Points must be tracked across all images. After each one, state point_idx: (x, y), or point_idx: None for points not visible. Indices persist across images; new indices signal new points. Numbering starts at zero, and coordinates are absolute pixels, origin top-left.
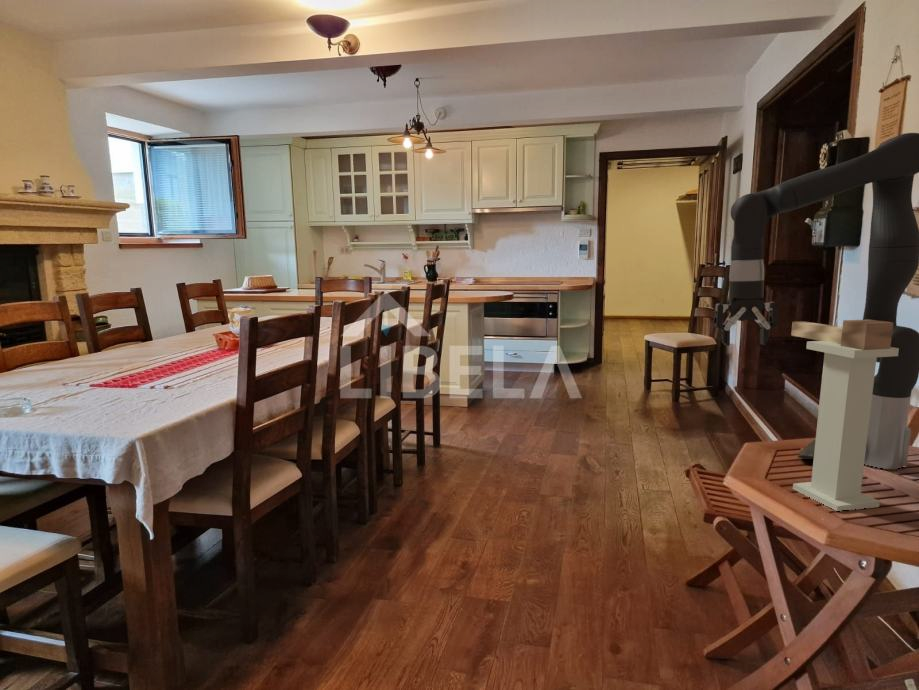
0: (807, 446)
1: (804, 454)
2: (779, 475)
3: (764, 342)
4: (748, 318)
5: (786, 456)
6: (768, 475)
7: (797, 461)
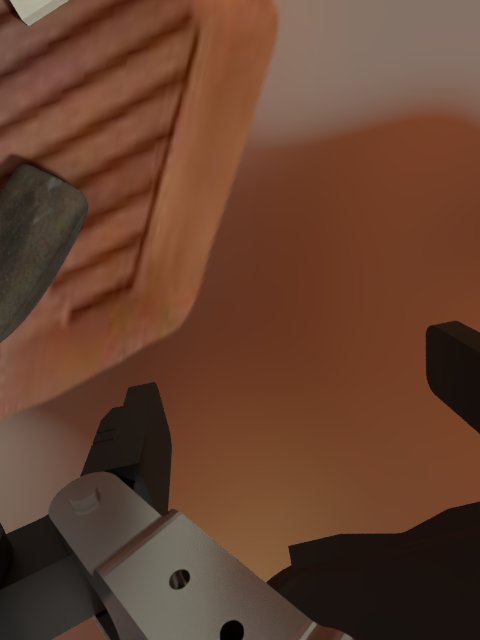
0: (52, 242)
1: (69, 191)
2: (156, 69)
3: (143, 389)
4: (394, 551)
5: (113, 241)
6: (185, 60)
7: (91, 206)
